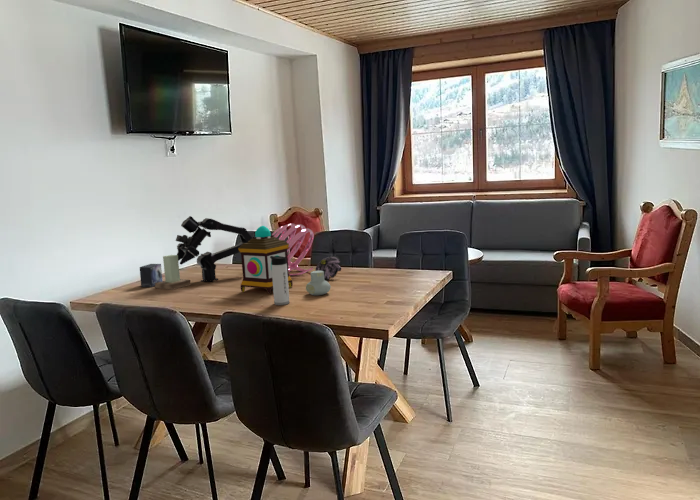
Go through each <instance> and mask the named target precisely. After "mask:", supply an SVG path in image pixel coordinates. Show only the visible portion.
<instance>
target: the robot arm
mask: <svg viewBox="0 0 700 500" xmlns="http://www.w3.org/2000/svg"><path fill="white" fill-rule="evenodd" d="M180 227H182V228H183V229H185V231H187V232H188V233H189V234H191V233H193V234H192V235H191V236H188V235H186V234H183V235H180V234H177V236H176V237H175V241H176V242H179V243H178V244H177V245H176V249H177V253H176V255H178V262H179V265H183V264H185V263H187V262H190V261H191V260H193V259H195V258H196V264H198V266H200V268H201V277H202V278H201V280H200V282H208V283H210V282H214V281H217V280H219V278H217V277H216V269H217V265H216V264H215V263H216V262H218V261H220V260H223V259H225V258H228V257H230V256H233V255H236V254H239V253H240V251H239V249H238V248H239V247H240V246H241V245H242V244H243V243H247V242H248V241H250V239H252V238H253V236H252V235H250V233H249V232H248V230H247V228H245V227H242V226H241V227H240V226H235V225H231V224H226V223H222V222H220V221H218V220H216V219H213V218H207V217H206V218H204V219H203V220H201V221H197V220H196V219H194V217H192V216H191V215H190V216H188V217H187V218H186V219H185V220H183V221H182V223H181V226H180ZM207 230H208V231H207ZM209 230H210V231H209ZM211 231H224V232H228V233H233V234H237V235H238V237H239V239H240V241H239V243H238V244H235V245H233V246H231V247H227V248H225V249H222V250H219V251H216V252H214V253H212V251H211V252H210V251H206V252H204V253H200V251H199V250H198V247H199V246H201V245H202V242H203V241H204V240H205V238H206V237H209V238H211V237H212V235H211Z"/></svg>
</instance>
